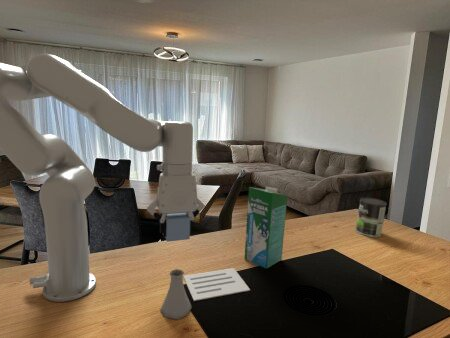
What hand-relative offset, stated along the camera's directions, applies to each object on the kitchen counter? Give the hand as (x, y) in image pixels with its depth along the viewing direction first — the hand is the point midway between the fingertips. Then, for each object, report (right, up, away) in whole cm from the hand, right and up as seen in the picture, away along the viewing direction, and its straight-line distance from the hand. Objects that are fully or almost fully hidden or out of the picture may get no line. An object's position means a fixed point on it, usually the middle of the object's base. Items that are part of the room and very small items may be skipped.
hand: (176, 233), depth 81 cm
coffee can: (+75, -10, +48) cm, 90 cm away
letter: (+11, -15, +4) cm, 19 cm away
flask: (+1, -17, -8) cm, 19 cm away
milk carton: (+26, -13, +19) cm, 35 cm away
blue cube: (0, -1, 0) cm, 1 cm away
